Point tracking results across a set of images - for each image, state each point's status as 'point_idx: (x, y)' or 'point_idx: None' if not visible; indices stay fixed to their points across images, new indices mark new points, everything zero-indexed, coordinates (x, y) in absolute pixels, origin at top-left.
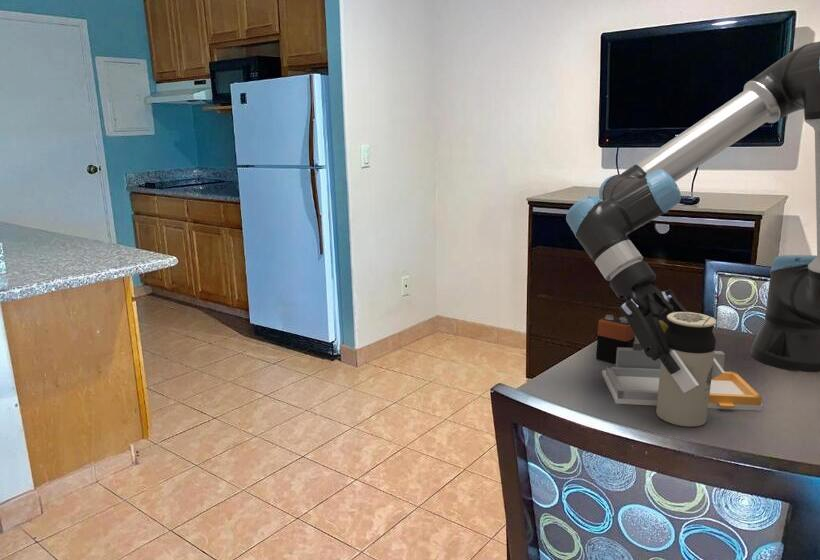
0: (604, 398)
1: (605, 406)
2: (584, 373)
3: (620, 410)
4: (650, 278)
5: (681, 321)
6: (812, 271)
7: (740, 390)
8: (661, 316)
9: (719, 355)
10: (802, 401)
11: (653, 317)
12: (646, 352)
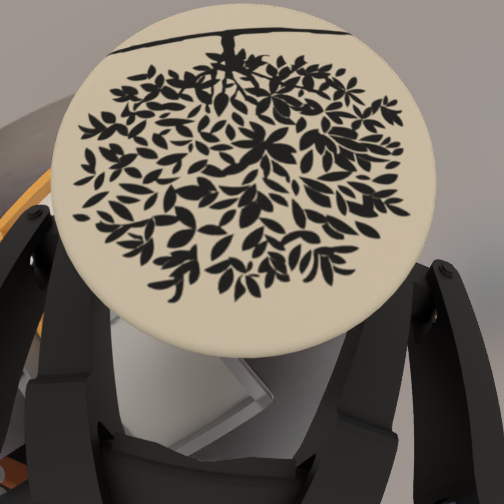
0: (262, 423)
1: (302, 401)
2: None
3: (299, 369)
4: None
5: (421, 158)
6: None
7: (42, 200)
8: (120, 431)
9: None
10: (30, 124)
11: (383, 419)
12: (433, 320)
